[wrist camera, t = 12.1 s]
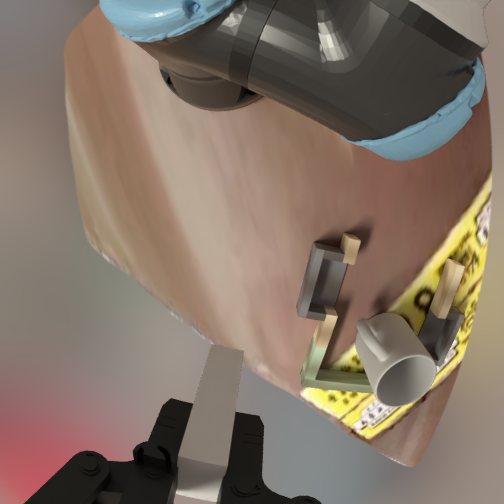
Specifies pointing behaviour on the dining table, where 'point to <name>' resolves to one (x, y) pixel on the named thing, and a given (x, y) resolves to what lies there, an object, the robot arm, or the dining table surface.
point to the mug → (394, 359)
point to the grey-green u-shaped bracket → (322, 309)
